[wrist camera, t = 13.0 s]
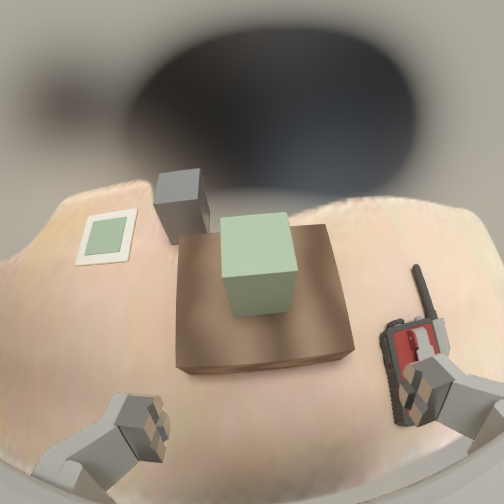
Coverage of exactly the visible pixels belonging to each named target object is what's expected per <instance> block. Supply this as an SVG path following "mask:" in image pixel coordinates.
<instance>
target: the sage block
mask: <svg viewBox="0 0 504 504" xmlns="http://www.w3.org/2000/svg"><path fill="white" fill-rule="evenodd" d="M220 226H221V262H222V279H223V283H224V286H225V290H226V293H227V297H228V300H229V304H230V307H231V310H232V314H233V317H239V316H251V315H262V314H272V313H282V312H288V311H289V307H290V303H291V298H292V294H293V290H294V286H295V282H296V277H297V273H298V267H297V262H296V257H295V251H294V246H293V241H292V236H291V231H290V226H289V221H288V216H287V213H286V212H282V213H269V214H257V215H246V216H235V217H224V218H220Z"/></svg>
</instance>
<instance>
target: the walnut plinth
mask: <svg viewBox="0 0 504 504" xmlns="http://www.w3.org/2000/svg"><path fill="white" fill-rule="evenodd" d="M290 231H291V236H292V241H293V246H294V251H295V257H296V262H297V267H298V273H297V277H296V282H295V286H294V290H293V294H292V298H291V303H290V307H289V311H288V312H282V313H272V314H262V315H251V316H239V317H233V314H232V310H231V307H230V304H229V300H228V297H227V293H226V290H225V286H224V283H223V279H222V262H221V233H210V234H200V235H190V236H180V241H179V255H178V273H177V297H176V367H177V368H179V369H180V370H182V371H184V372H186V373H188V374H215V373H234V372H248V371H260V370H270V369H279V368H288V367H296V366H303V365H310V364H317V363H323V362H329V361H335V360H340V359H342V358H344V357H345V356H346V355H348V354H349V353H351V352H352V351H353V350H355V347H354V342H353V337H352V332H351V327H350V322H349V317H348V312H347V308H346V303H345V299H344V295H343V290H342V286H341V282H340V278H339V274H338V270H337V266H336V262H335V258H334V254H333V251H332V247H331V243H330V239H329V236H328V232H327V229H326V225H325V224H317V225H304V226H291V227H290Z"/></svg>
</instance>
